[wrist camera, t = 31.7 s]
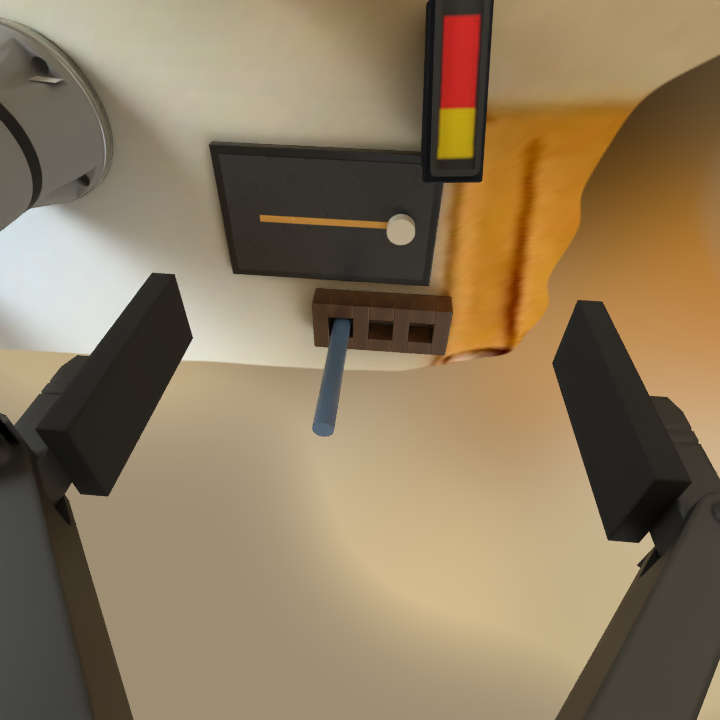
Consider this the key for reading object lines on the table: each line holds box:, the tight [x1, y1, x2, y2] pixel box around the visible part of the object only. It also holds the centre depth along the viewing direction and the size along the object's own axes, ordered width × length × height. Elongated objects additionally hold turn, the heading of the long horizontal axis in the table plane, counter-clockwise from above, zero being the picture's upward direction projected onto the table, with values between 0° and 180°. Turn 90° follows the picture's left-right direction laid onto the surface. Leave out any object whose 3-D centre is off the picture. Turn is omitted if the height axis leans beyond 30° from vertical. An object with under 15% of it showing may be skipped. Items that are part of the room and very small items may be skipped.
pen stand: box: [312, 289, 453, 355], centre depth 56 cm, size 16×6×3 cm, turn 89°
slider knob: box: [387, 214, 415, 245], centre depth 47 cm, size 3×3×1 cm
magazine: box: [421, 0, 494, 183], centre depth 35 cm, size 4×13×15 cm, turn 3°
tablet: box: [209, 141, 443, 286], centre depth 48 cm, size 22×14×1 cm, turn 89°
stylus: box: [312, 318, 351, 437], centre depth 50 cm, size 2×2×18 cm
